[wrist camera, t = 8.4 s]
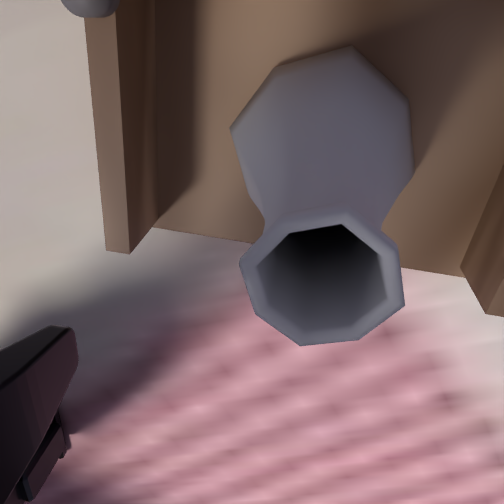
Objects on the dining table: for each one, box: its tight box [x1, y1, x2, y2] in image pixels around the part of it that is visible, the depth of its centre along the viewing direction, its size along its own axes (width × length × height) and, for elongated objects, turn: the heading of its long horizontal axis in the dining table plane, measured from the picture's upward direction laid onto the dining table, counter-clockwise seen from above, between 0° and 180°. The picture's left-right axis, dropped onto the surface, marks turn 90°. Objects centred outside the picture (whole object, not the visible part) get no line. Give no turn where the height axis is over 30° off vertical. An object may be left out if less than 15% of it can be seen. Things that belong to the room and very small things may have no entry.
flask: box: [229, 45, 415, 346], centre depth 12 cm, size 7×7×10 cm
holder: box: [61, 0, 504, 317], centre depth 14 cm, size 16×12×5 cm
